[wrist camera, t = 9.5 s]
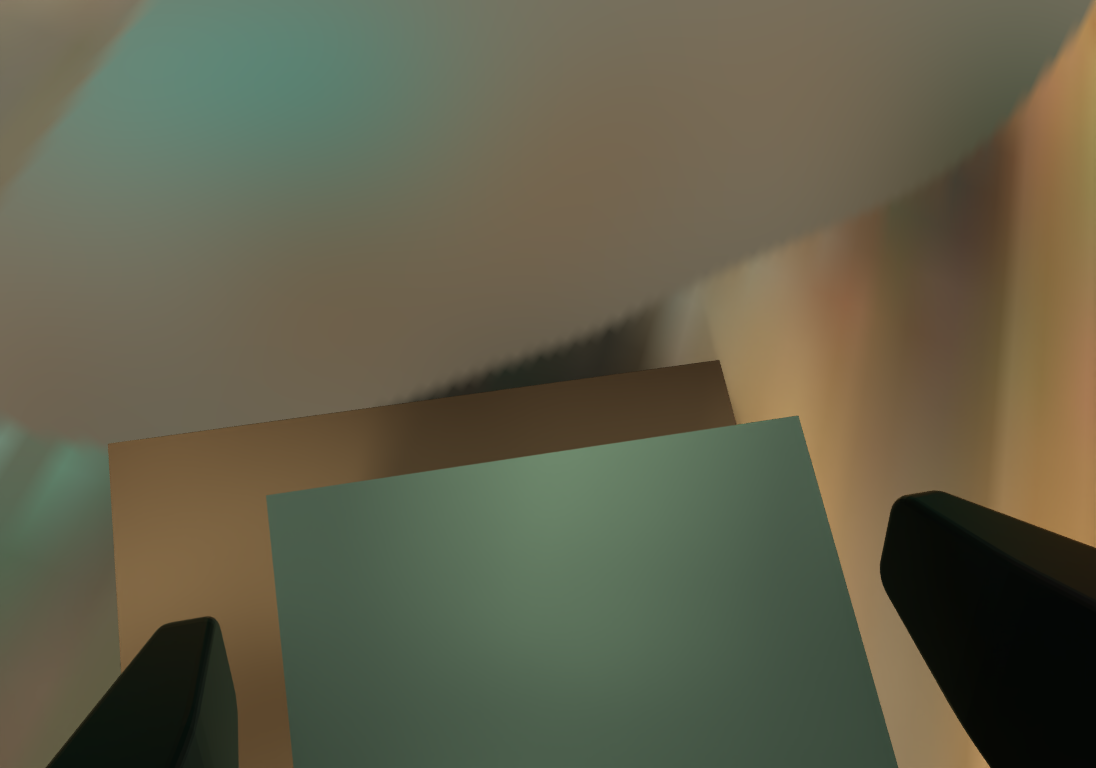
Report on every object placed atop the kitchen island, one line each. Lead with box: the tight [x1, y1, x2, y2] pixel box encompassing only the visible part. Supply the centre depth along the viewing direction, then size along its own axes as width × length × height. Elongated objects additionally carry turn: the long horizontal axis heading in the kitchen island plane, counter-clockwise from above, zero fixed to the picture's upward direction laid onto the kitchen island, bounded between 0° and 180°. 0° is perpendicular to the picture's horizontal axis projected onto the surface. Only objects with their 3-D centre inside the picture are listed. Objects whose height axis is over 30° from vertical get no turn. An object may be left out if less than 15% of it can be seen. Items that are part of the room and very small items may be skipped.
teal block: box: [266, 416, 898, 768], centre depth 12 cm, size 5×5×9 cm
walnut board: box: [108, 360, 736, 768], centre depth 17 cm, size 12×12×2 cm
